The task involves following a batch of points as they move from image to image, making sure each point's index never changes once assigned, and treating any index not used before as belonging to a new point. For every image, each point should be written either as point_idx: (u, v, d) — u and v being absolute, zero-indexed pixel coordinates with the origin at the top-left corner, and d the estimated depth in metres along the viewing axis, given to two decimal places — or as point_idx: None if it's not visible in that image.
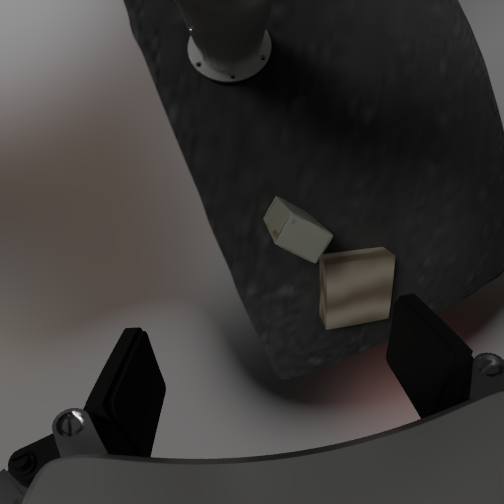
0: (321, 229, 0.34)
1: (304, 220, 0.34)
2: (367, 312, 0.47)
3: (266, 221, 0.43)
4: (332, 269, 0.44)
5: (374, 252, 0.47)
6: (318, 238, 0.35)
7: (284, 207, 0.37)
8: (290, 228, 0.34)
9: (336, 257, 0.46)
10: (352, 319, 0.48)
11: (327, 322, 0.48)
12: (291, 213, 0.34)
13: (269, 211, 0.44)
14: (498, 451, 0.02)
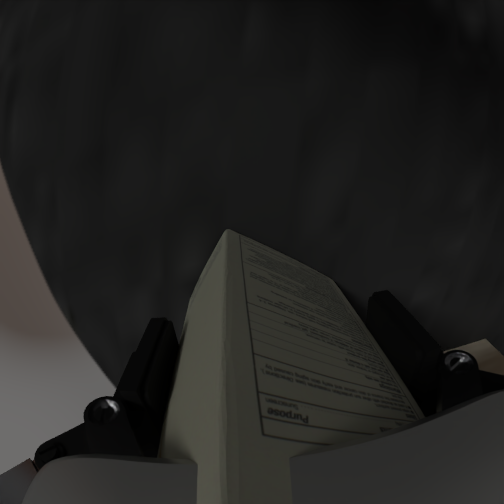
0: None
1: None
2: None
3: (183, 328, 0.11)
4: None
5: (478, 361, 0.15)
6: None
7: (215, 347, 0.06)
8: None
9: None
10: None
11: None
12: None
13: (198, 287, 0.12)
14: (498, 451, 0.02)
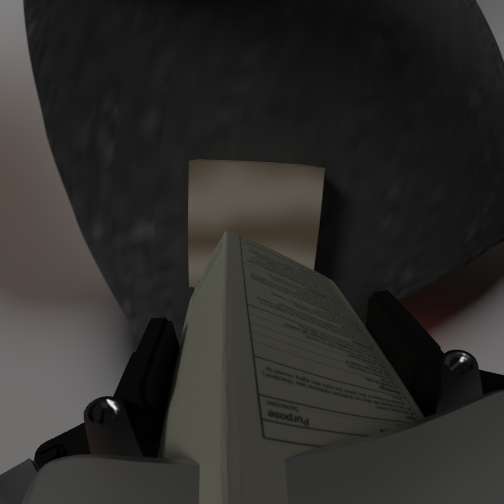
0: None
1: None
2: None
3: (184, 330, 0.11)
4: (198, 171, 0.25)
5: (290, 164, 0.28)
6: None
7: (215, 349, 0.06)
8: None
9: (217, 160, 0.27)
10: None
11: (190, 273, 0.28)
12: None
13: (198, 289, 0.12)
14: (498, 451, 0.02)
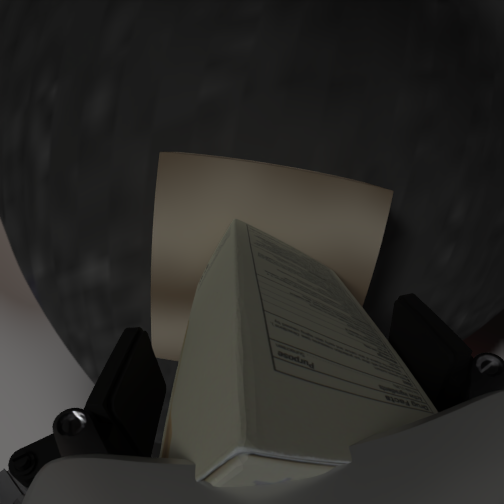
0: None
1: None
2: None
3: (192, 309, 0.12)
4: (174, 172, 0.13)
5: (332, 175, 0.16)
6: None
7: (229, 304, 0.06)
8: None
9: None
10: None
11: (154, 338, 0.16)
12: (242, 449, 0.03)
13: (207, 271, 0.13)
14: (498, 451, 0.02)
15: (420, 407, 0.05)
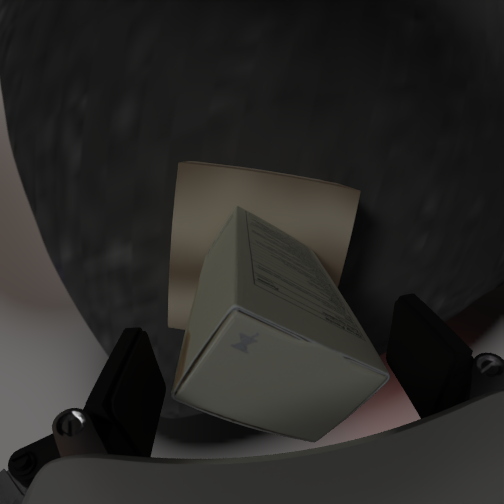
0: (356, 364, 0.08)
1: (293, 337, 0.08)
2: None
3: (202, 272, 0.17)
4: (190, 178, 0.18)
5: (313, 179, 0.21)
6: (338, 390, 0.08)
7: (231, 255, 0.11)
8: (229, 365, 0.08)
9: (217, 165, 0.20)
10: None
11: (170, 311, 0.21)
12: (234, 308, 0.07)
13: (214, 244, 0.17)
14: (498, 451, 0.02)
15: (354, 333, 0.10)
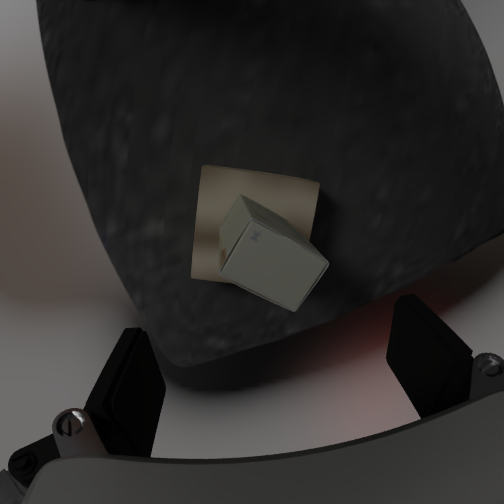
0: (308, 251, 0.19)
1: (276, 233, 0.18)
2: None
3: (220, 232, 0.27)
4: (209, 175, 0.29)
5: (290, 177, 0.31)
6: (301, 268, 0.19)
7: (244, 209, 0.21)
8: (249, 249, 0.18)
9: None
10: None
11: (193, 265, 0.31)
12: (251, 219, 0.18)
13: (227, 217, 0.28)
14: (498, 451, 0.02)
15: (309, 245, 0.20)
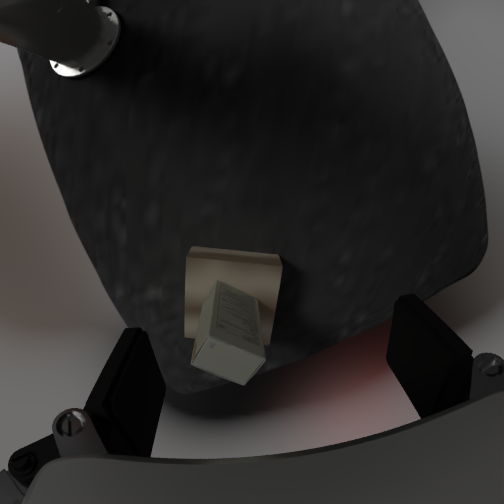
0: (249, 353, 0.26)
1: (226, 344, 0.26)
2: None
3: (201, 314, 0.35)
4: (192, 264, 0.36)
5: (259, 257, 0.39)
6: (245, 362, 0.27)
7: (210, 315, 0.29)
8: (208, 352, 0.26)
9: (206, 252, 0.39)
10: None
11: (186, 328, 0.39)
12: (209, 336, 0.26)
13: (206, 300, 0.36)
14: (498, 451, 0.02)
15: (254, 343, 0.28)
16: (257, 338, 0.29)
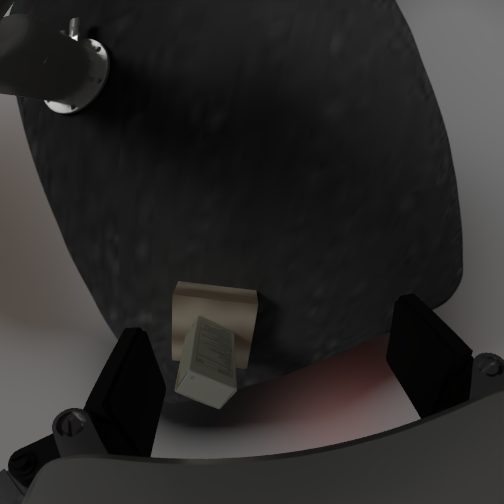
0: (223, 384, 0.30)
1: (203, 376, 0.30)
2: None
3: (184, 345, 0.39)
4: (178, 301, 0.40)
5: (238, 294, 0.43)
6: (220, 391, 0.31)
7: (191, 350, 0.33)
8: (189, 382, 0.30)
9: (191, 289, 0.42)
10: None
11: (173, 353, 0.43)
12: (189, 370, 0.30)
13: (188, 333, 0.40)
14: (498, 451, 0.02)
15: (228, 375, 0.32)
16: (231, 370, 0.33)
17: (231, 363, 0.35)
